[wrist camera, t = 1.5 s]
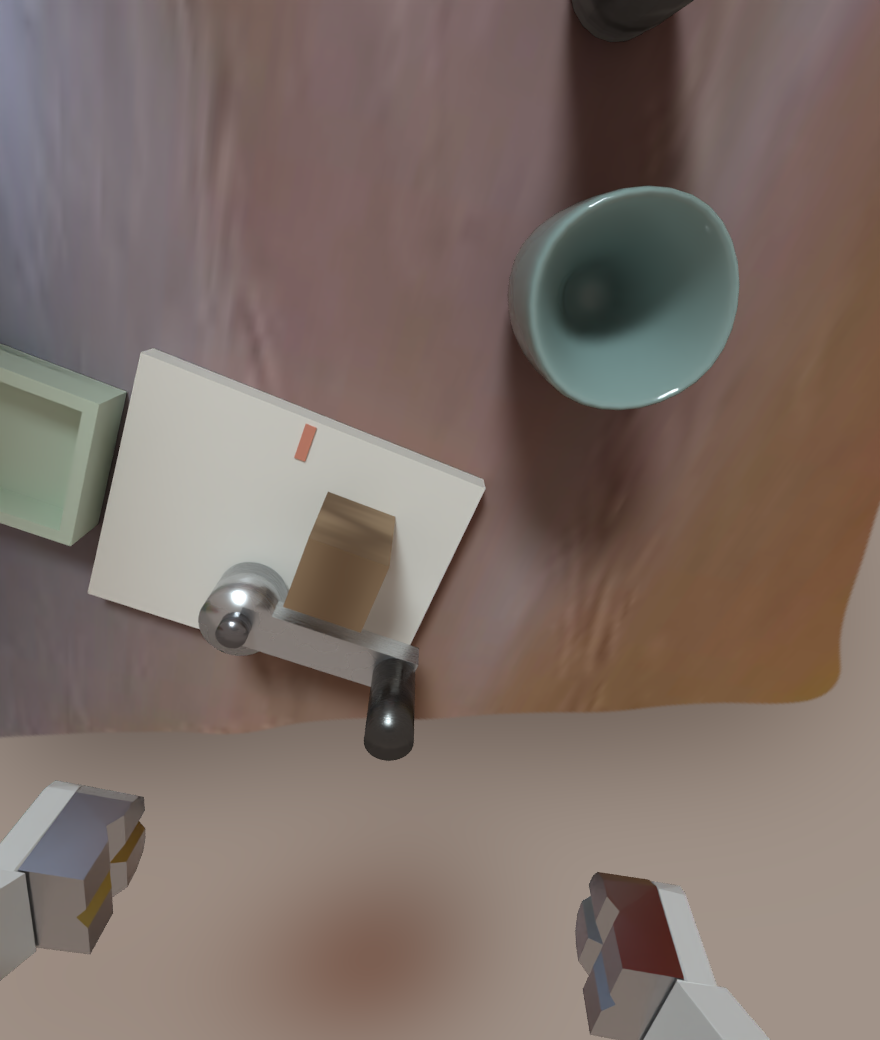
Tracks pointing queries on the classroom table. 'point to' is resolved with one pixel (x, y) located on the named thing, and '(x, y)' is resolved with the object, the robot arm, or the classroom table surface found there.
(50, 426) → the tray
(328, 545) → the block
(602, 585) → the classroom table surface
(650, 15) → the beverage cup
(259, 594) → the crank
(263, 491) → the crank plate
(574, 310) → the cup
